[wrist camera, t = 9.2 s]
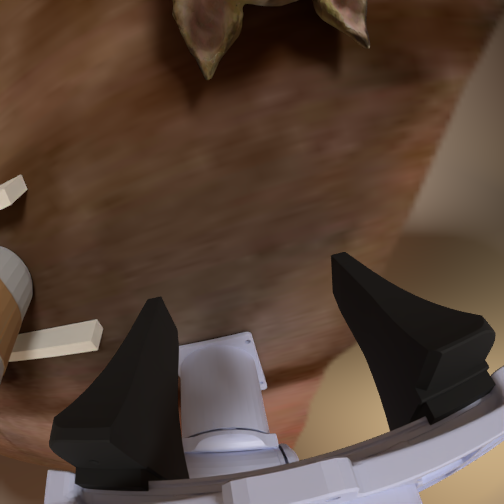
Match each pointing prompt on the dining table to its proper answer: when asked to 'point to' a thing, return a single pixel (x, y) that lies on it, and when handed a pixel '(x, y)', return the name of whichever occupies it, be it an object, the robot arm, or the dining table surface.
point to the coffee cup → (12, 302)
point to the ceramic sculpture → (230, 24)
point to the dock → (52, 339)
